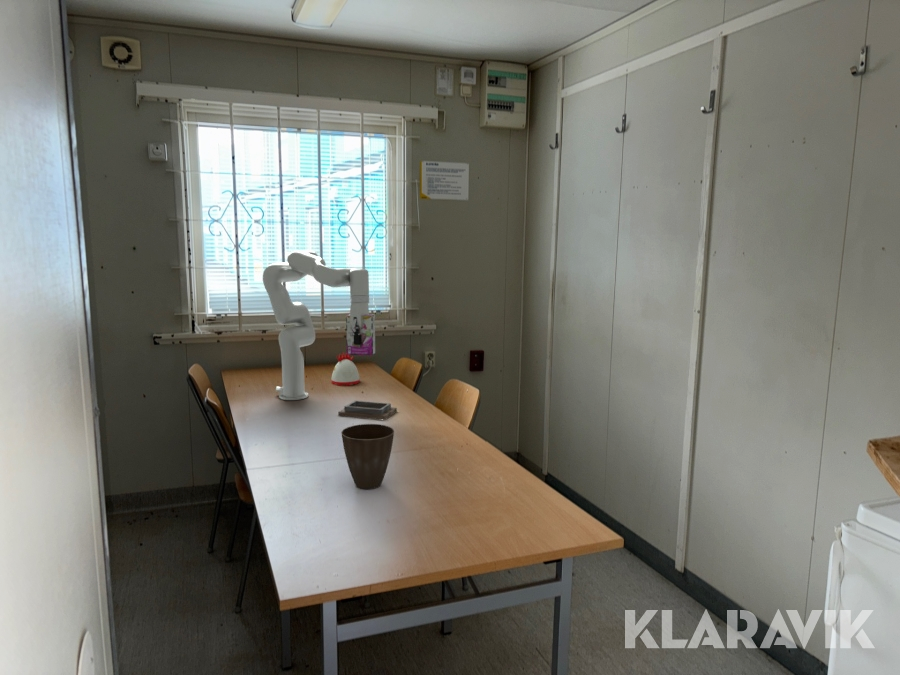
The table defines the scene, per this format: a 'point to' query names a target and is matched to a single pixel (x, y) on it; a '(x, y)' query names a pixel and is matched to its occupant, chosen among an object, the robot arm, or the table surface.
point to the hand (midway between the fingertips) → (360, 343)
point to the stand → (368, 410)
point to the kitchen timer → (345, 372)
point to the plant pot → (367, 453)
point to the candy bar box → (367, 337)
